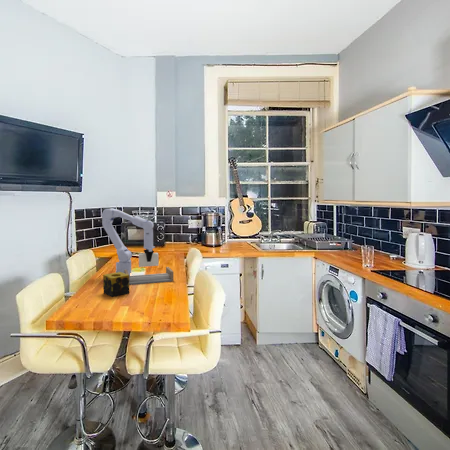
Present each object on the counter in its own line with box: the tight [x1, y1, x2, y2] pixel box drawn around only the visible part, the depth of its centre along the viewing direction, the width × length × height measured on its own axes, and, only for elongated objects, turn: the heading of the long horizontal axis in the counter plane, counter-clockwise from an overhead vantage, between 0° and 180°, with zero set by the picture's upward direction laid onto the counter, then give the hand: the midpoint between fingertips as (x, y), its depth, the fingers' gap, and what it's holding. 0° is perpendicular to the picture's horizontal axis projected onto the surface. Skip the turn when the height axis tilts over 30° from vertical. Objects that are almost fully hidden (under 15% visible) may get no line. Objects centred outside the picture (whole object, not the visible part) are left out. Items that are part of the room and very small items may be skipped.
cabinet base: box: [124, 266, 174, 286], centre depth 203 cm, size 27×14×6 cm, turn 112°
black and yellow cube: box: [102, 271, 130, 298], centre depth 176 cm, size 10×10×10 cm
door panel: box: [138, 252, 160, 268], centre depth 214 cm, size 12×2×8 cm, turn 112°
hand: (148, 261), depth 214 cm, fingers closed on door panel, 2 cm apart
